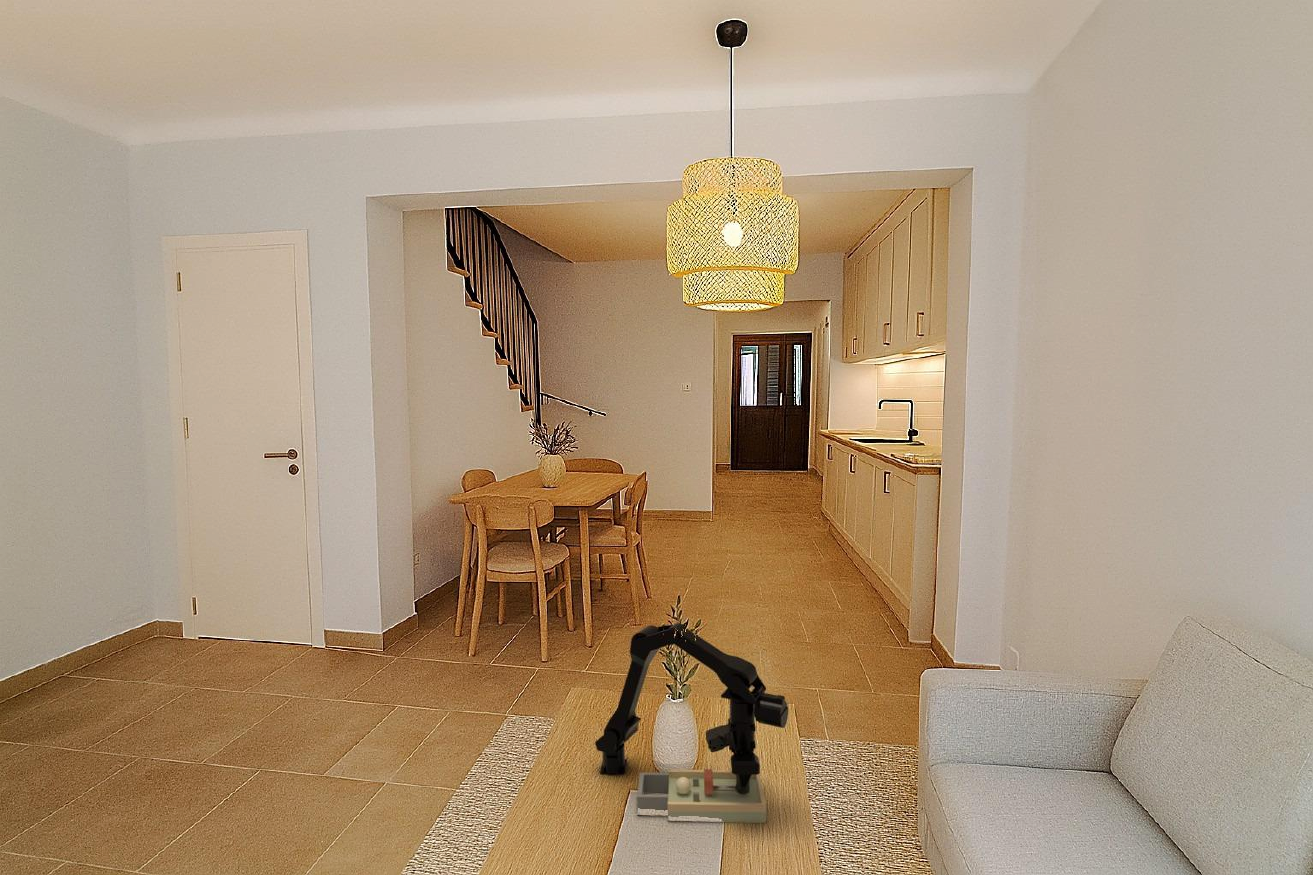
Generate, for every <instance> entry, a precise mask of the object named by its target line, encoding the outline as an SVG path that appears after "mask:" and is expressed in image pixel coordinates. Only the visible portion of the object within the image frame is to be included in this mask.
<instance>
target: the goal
mask: <svg viewBox="0 0 1313 875" xmlns="http://www.w3.org/2000/svg"><path fill="white" fill-rule="evenodd" d="M637 787H638V788H637V793H636V794H637V795H636V796H637V797H636V801H637V802H636V804H637V805H636V806H637V808H640V809H655V810H664V811H665V810H668V792H669V772H641V771H640V772H639V778H638V786H637ZM644 792H650V793H646V794H645V793H644ZM643 793H644V794H643ZM637 808H636V809H637Z"/></svg>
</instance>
